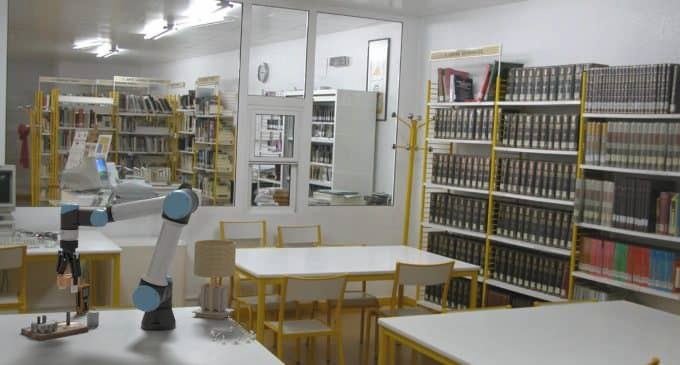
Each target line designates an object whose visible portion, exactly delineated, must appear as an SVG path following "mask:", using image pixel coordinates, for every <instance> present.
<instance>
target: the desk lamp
mask: <svg viewBox="0 0 680 365" xmlns="http://www.w3.org/2000/svg"><path fill="white" fill-rule="evenodd" d="M236 248H237V243H236V242H235V241H232V240H223V239H204V240H197V241H195V242H194V249H193V251H194V257H193V260H194V261H193V263H194V264H193V274H194V276H197V277H202V278H211V279H212V284H211V282H206V283H204V284H202V286H200V308H197V309H195V310H193V311H192V312H191V313H194V314H195V315H194V316H195V317H197V318H199V317H200V318H206V319H214V320H215V319H216V320H222V319H225V318H226V317H229V316H231V315H232V312H234V311H235V310H236V309H234V308H228V289H229V288H228V287H227V284H226V283H225V284H220V283H217V282H216V280H217V279H216V278H228V277H232V276H234V275H236V256H237V255H236V254H237V253H236Z"/></svg>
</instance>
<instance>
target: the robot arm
mask: <svg viewBox="0 0 680 365" xmlns="http://www.w3.org/2000/svg"><path fill="white" fill-rule="evenodd" d="M199 206H200V199H199V195H198V194H197V193H196V191H194V190H192V189H190V188H181V189H174V190H172V191H170V192H169V193H168V194H167V195H165V196H159V197H153V198H148V199H140V200H134V201H130V202H129V201H128V202H124V203H118V204H116V203H115V204H112V205H103V206H101V207H95V208H80V204H79V203H73V202H68V203H67V202H66V203H63V204H61V207H60V213H59V216H60V217H59V219H60V220H59V221H60V227H59V228H60V231H59V237H60V240H59V248H60V249H59V250H57V262H56V268H55V269H56V270H55V272H56V273H58V275H61V274H67V271H66V270H67V267H68V265H69V269H70V272H71V273H70V274H72V277H71V286H70V293H71V294H74V293H75V294H76V292H77V290H78V286H79V285H78V277H82V269H81V254H80V253H77V252H76V249H78V248H79V238H80V237H79V231H80V230H79V229H80V228H79V227H92V228H104V227H106V225H107V224H109V223H115V222H121V221H127V220H135V219H140V218H146V217H151V216H158V215H161V216H160V217H161V219H162V221H163V222H162V225H161V227H160V231H159V234H158V237H157V240H156V243H155V246H154V248H153V251H152V255H151V258H150V262H149V263H148V268H147V270H146V273H144V274H142V275H141V277H140V280H139V281H138V282H139V283H138V286H137V287H136V288H135V289H134V291H133V293H132V296H131V300H132V303H133V305H134V307H135V308H136V309H137V310H139V311H141V312H143V315H142V320H141V321H140V323H141V324H140V328H142V329H144V330H150V331H164V330H170V329H174V328H175V327H176V325H177V322H176V319H175V318H176V317H175V314H174V311H173V289H174V288H173V286H174V280H173V277H172V276H170V275H168V274H169V270H170V267H171V264H172V262H173V258H174V255H175V254H176V253H175V252H176V250H177V247H178V243H179V240H180V239H181V238H180V237H181V234H182V231H183V228H184V227H186V226H188V224H189V221H190V219H191V217H192V214H193V213H195V212H196V211H197V210H198V208H199ZM74 274H75V275H74ZM66 289H67V287H63V286H58V290H66Z"/></svg>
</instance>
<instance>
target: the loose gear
mask: <svg viewBox="0 0 680 365" xmlns="http://www.w3.org/2000/svg"><path fill="white" fill-rule="evenodd" d="M74 275H75V274H74ZM71 277H72V273H64V274H61V275H59V274H58V275H56V286H58V287H59V286H63V287H66V288H68V287H70V288H71ZM80 279H81V278H80V277H78V286H80V282H81V281H80Z"/></svg>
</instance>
